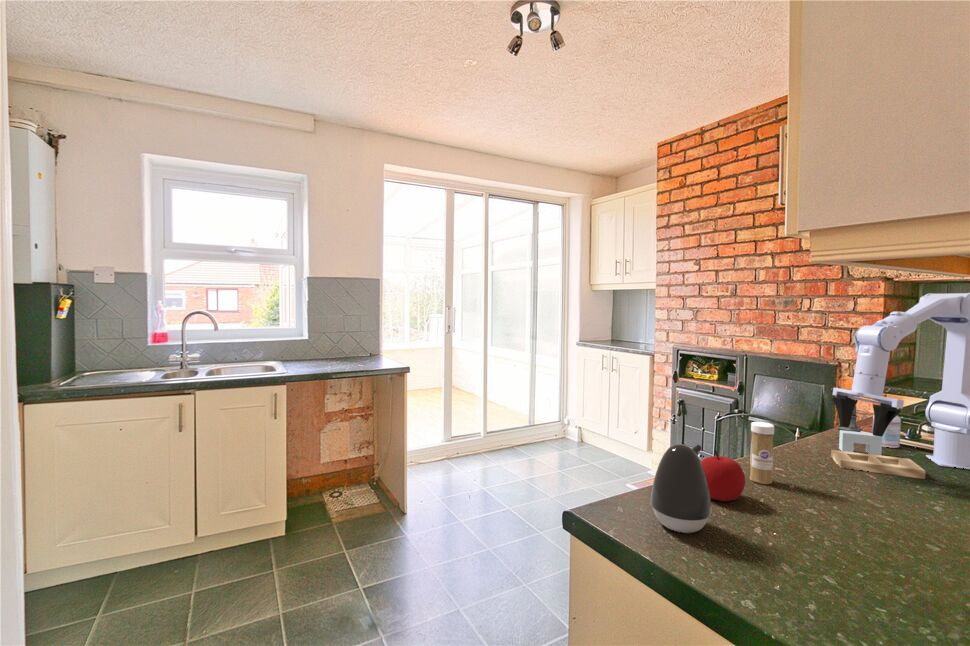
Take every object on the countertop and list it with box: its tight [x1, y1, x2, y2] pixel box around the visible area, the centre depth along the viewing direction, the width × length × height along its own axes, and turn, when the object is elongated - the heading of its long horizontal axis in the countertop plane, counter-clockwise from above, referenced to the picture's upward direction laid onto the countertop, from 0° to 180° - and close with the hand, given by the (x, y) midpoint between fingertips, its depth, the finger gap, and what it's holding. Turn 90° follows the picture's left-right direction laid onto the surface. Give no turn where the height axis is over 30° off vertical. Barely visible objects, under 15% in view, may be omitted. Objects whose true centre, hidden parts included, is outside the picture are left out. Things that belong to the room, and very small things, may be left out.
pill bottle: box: [871, 408, 902, 449], centre depth 131 cm, size 6×6×11 cm
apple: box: [700, 450, 746, 502], centre depth 95 cm, size 9×9×10 cm
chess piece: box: [836, 406, 863, 440], centre depth 136 cm, size 6×6×12 cm
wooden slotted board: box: [830, 449, 926, 480], centre depth 113 cm, size 16×9×2 cm, turn 64°
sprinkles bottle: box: [749, 421, 775, 485], centre depth 104 cm, size 5×5×14 cm
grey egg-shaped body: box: [650, 443, 712, 534], centre depth 83 cm, size 10×10×15 cm
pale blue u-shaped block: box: [838, 430, 883, 456], centre depth 124 cm, size 8×3×6 cm, turn 64°
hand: (860, 431), depth 108 cm, fingers open, 7 cm apart
